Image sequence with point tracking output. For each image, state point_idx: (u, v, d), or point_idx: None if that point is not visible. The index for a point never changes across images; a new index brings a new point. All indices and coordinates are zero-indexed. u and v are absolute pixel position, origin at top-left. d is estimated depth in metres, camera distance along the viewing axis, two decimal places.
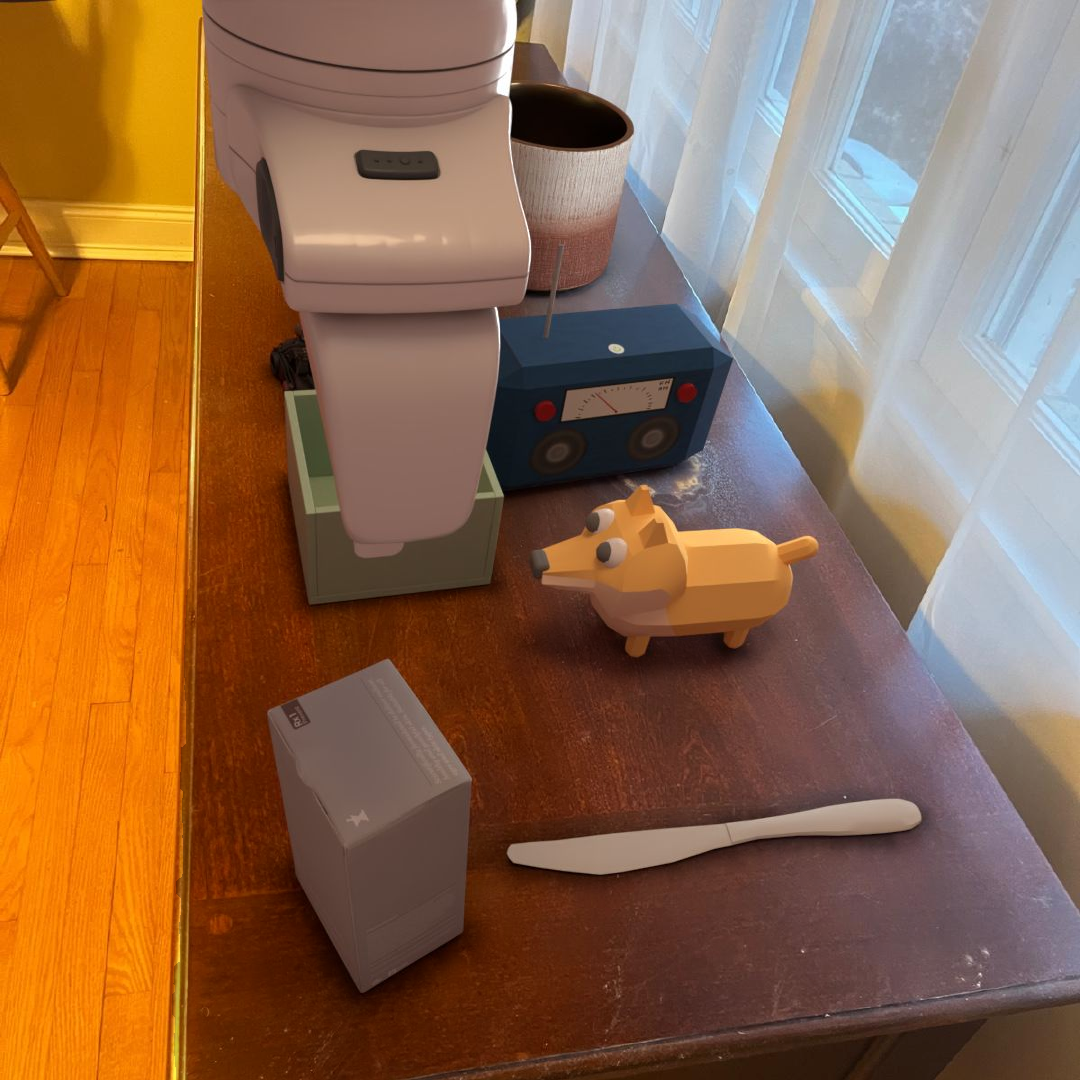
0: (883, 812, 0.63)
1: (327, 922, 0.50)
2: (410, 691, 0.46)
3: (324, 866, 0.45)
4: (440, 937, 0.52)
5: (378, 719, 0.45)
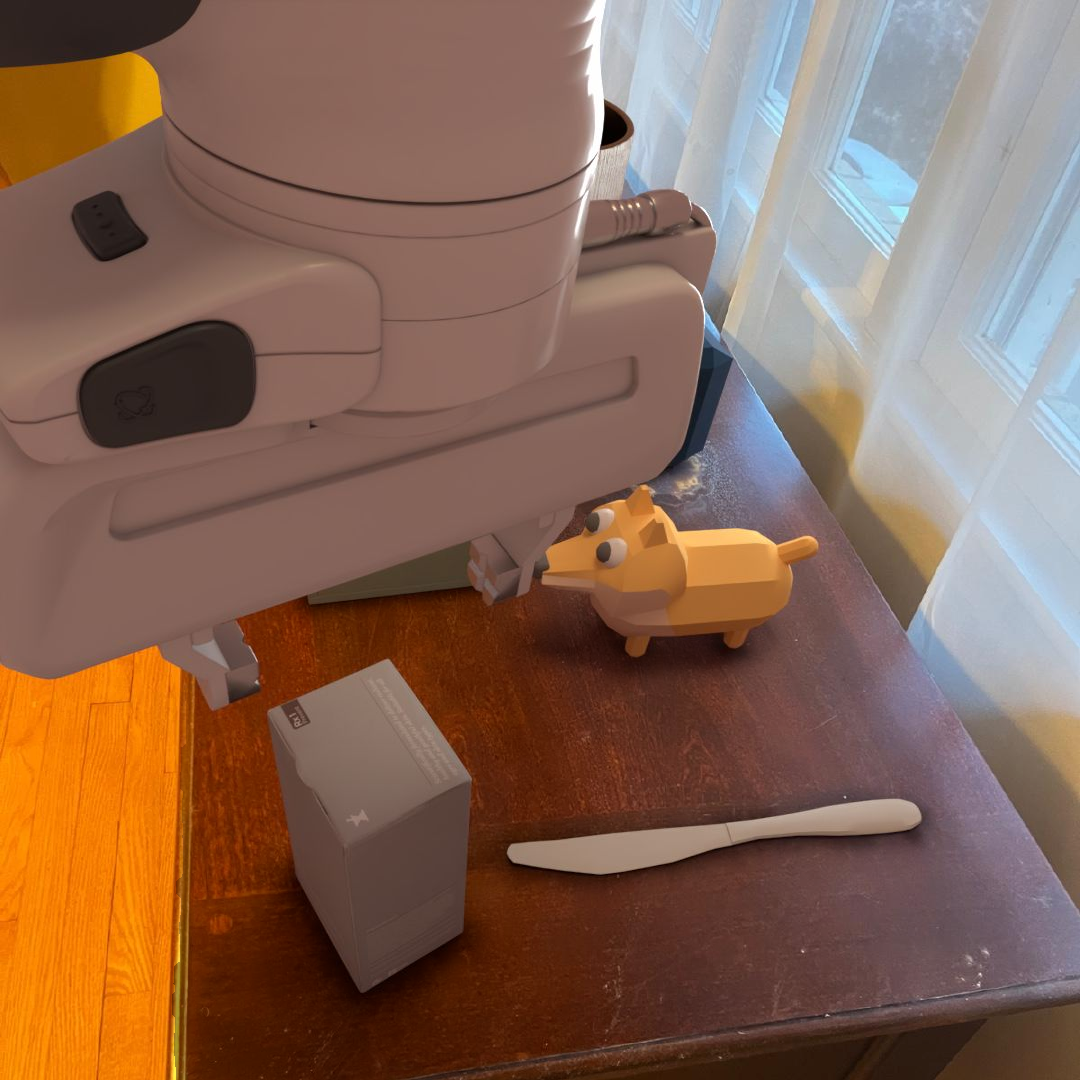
0: (883, 812, 0.63)
1: (327, 922, 0.50)
2: (410, 691, 0.46)
3: (324, 866, 0.45)
4: (440, 937, 0.52)
5: (378, 719, 0.45)
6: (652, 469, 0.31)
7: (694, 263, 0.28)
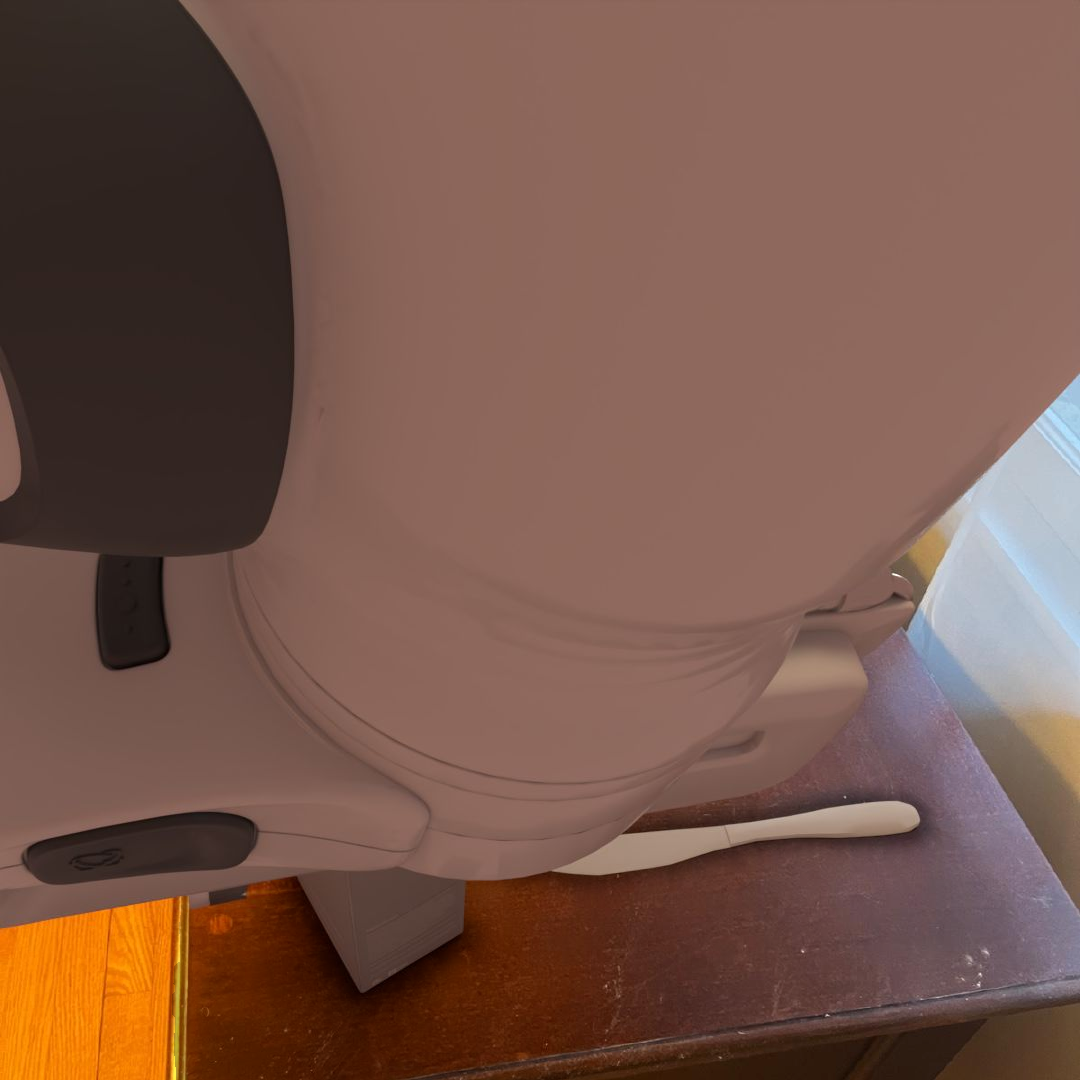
0: (881, 814, 0.63)
1: (327, 922, 0.50)
2: None
3: None
4: (440, 937, 0.52)
5: None
6: (747, 793, 0.26)
7: (875, 630, 0.22)
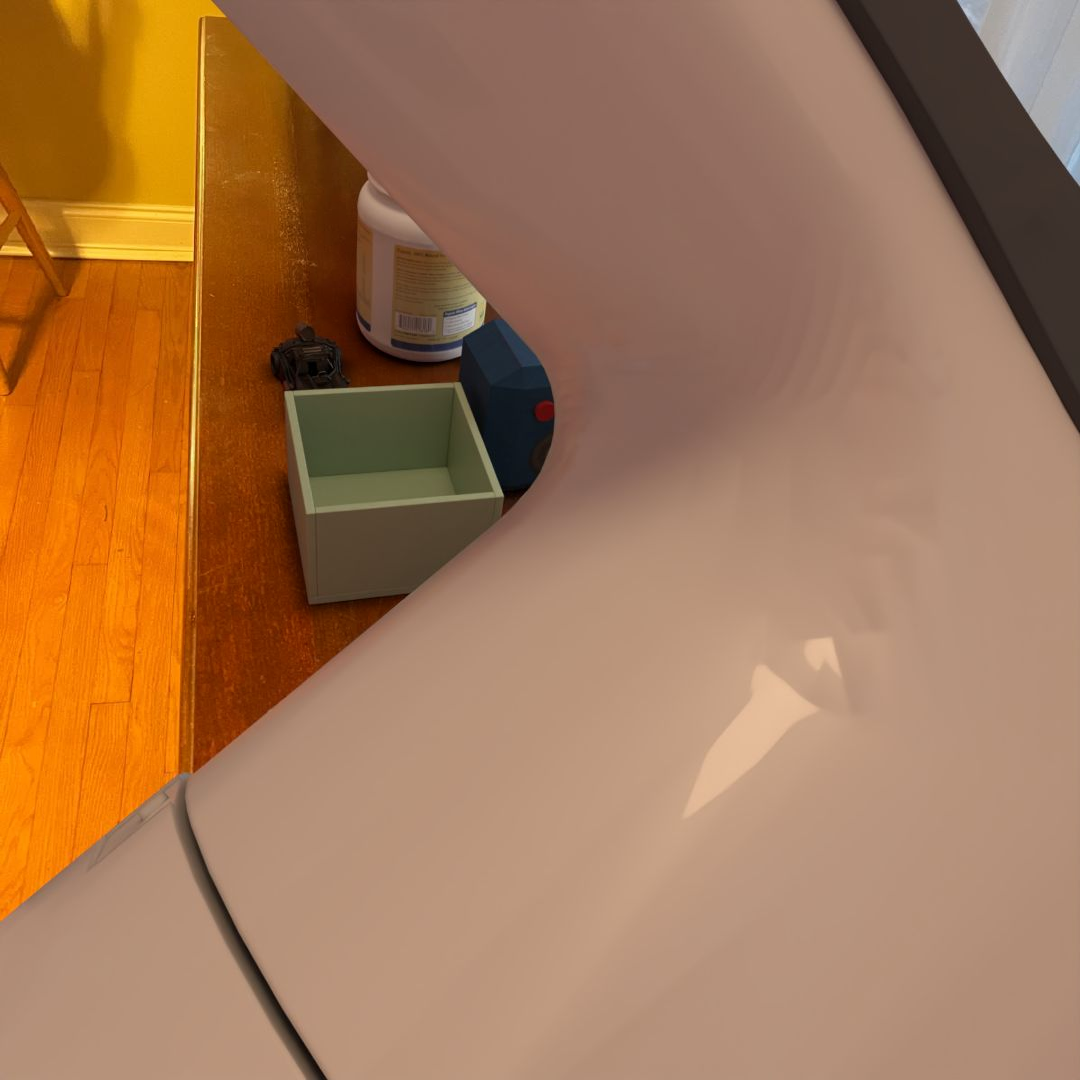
0: None
1: None
2: None
3: None
4: None
5: None
6: None
7: None
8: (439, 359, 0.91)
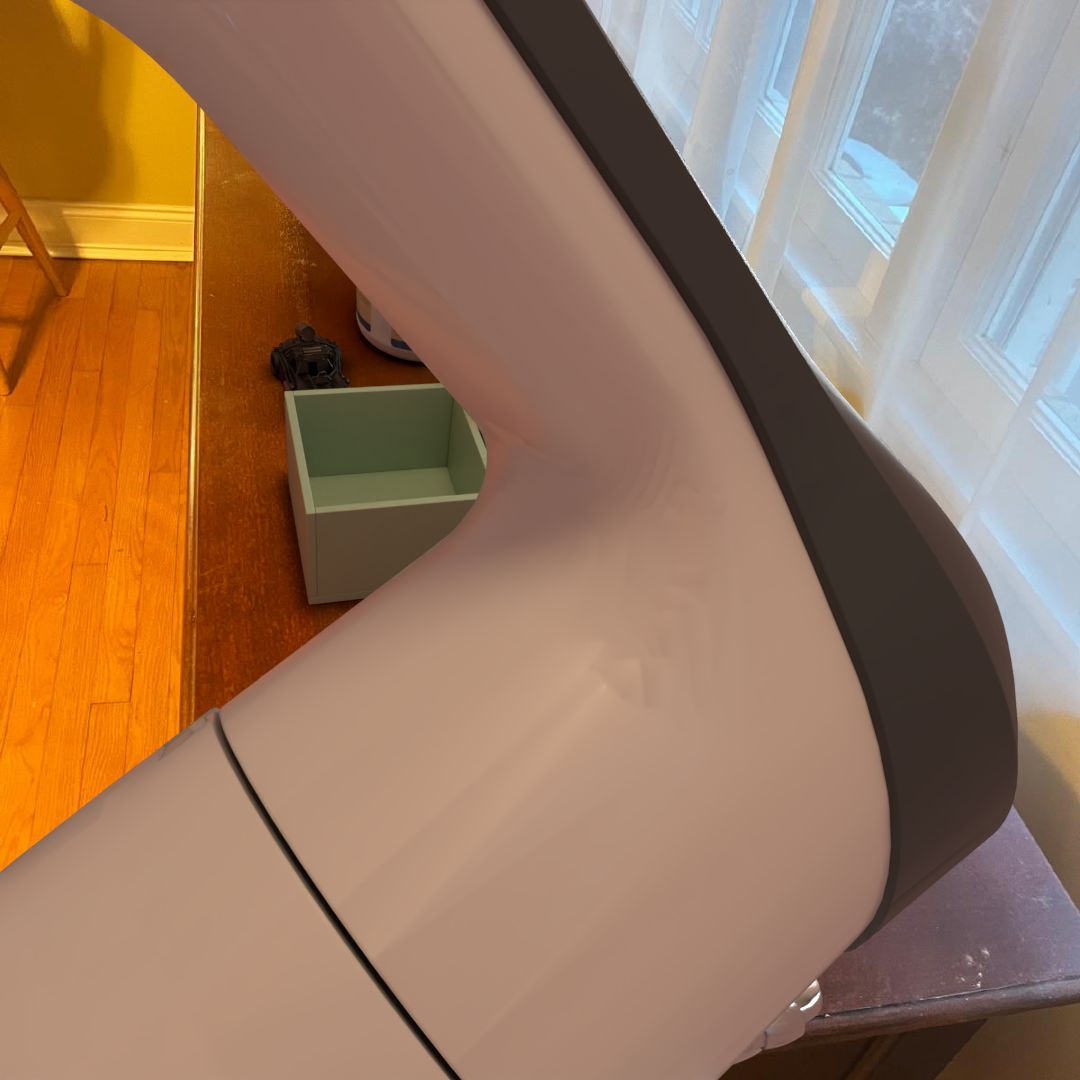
0: None
1: None
2: None
3: None
4: None
5: None
6: None
7: None
8: None
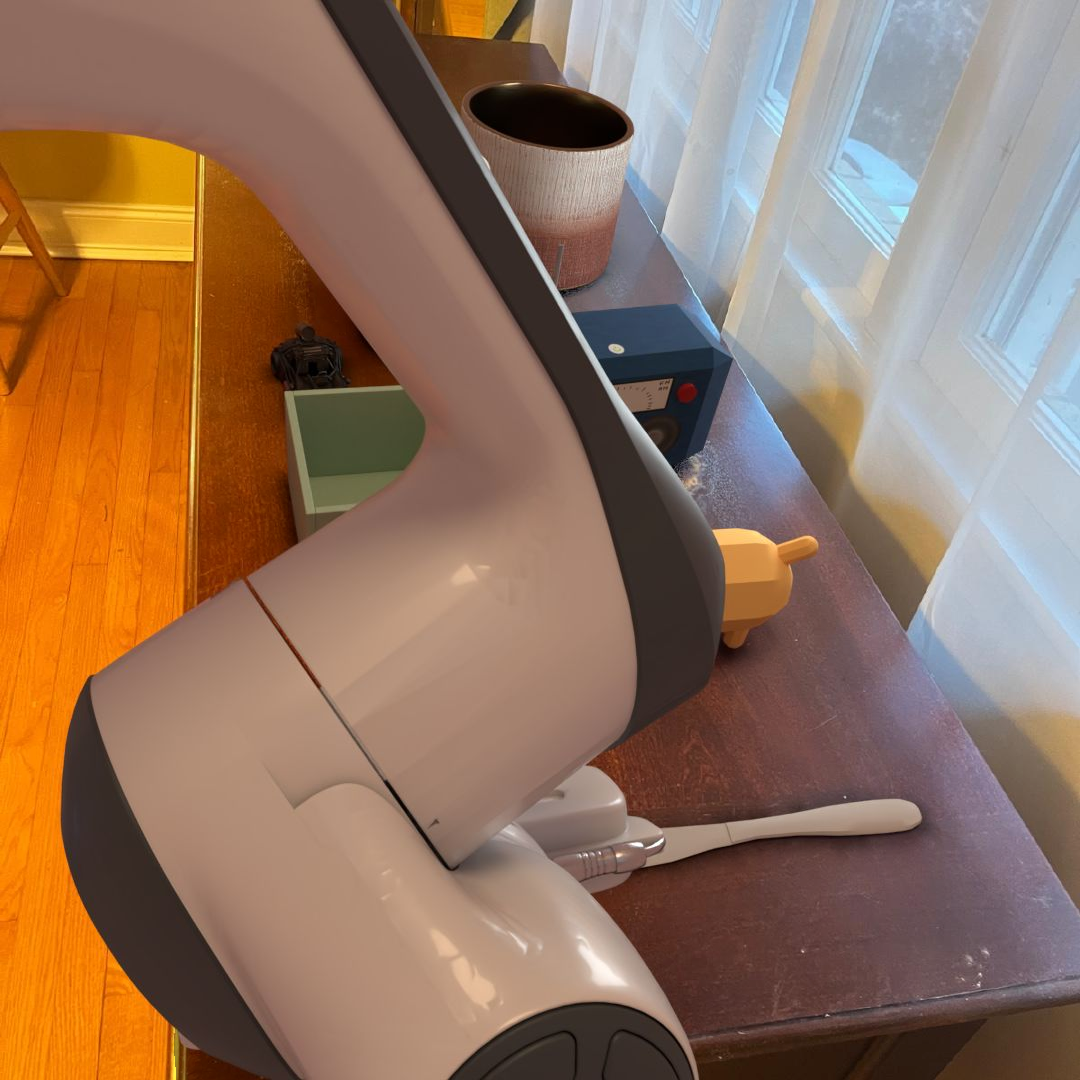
0: (883, 812, 0.63)
1: None
2: None
3: None
4: None
5: None
6: None
7: None
8: None
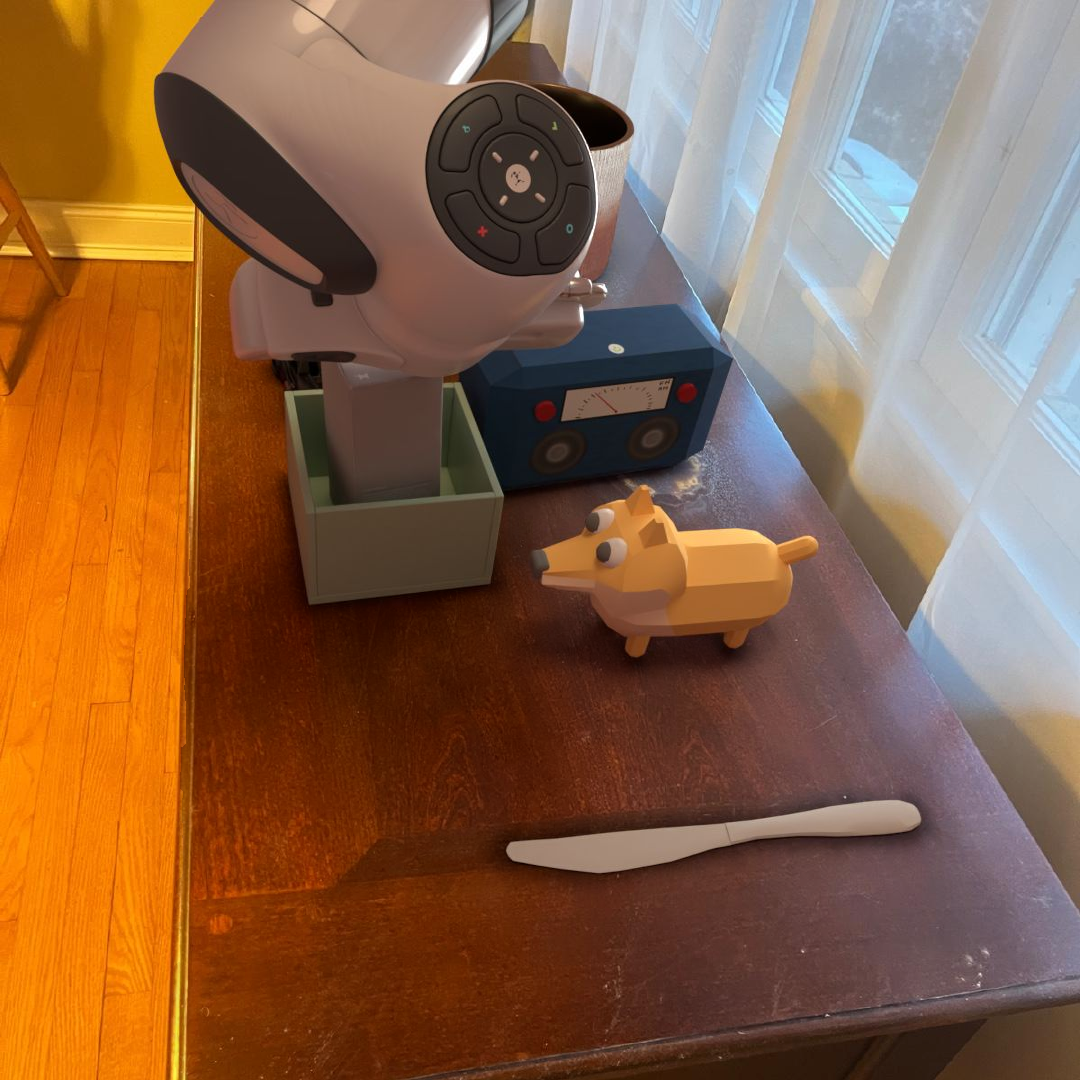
0: (882, 813, 0.63)
1: None
2: None
3: (341, 434, 0.66)
4: None
5: None
6: (545, 348, 0.62)
7: (591, 301, 0.56)
8: None
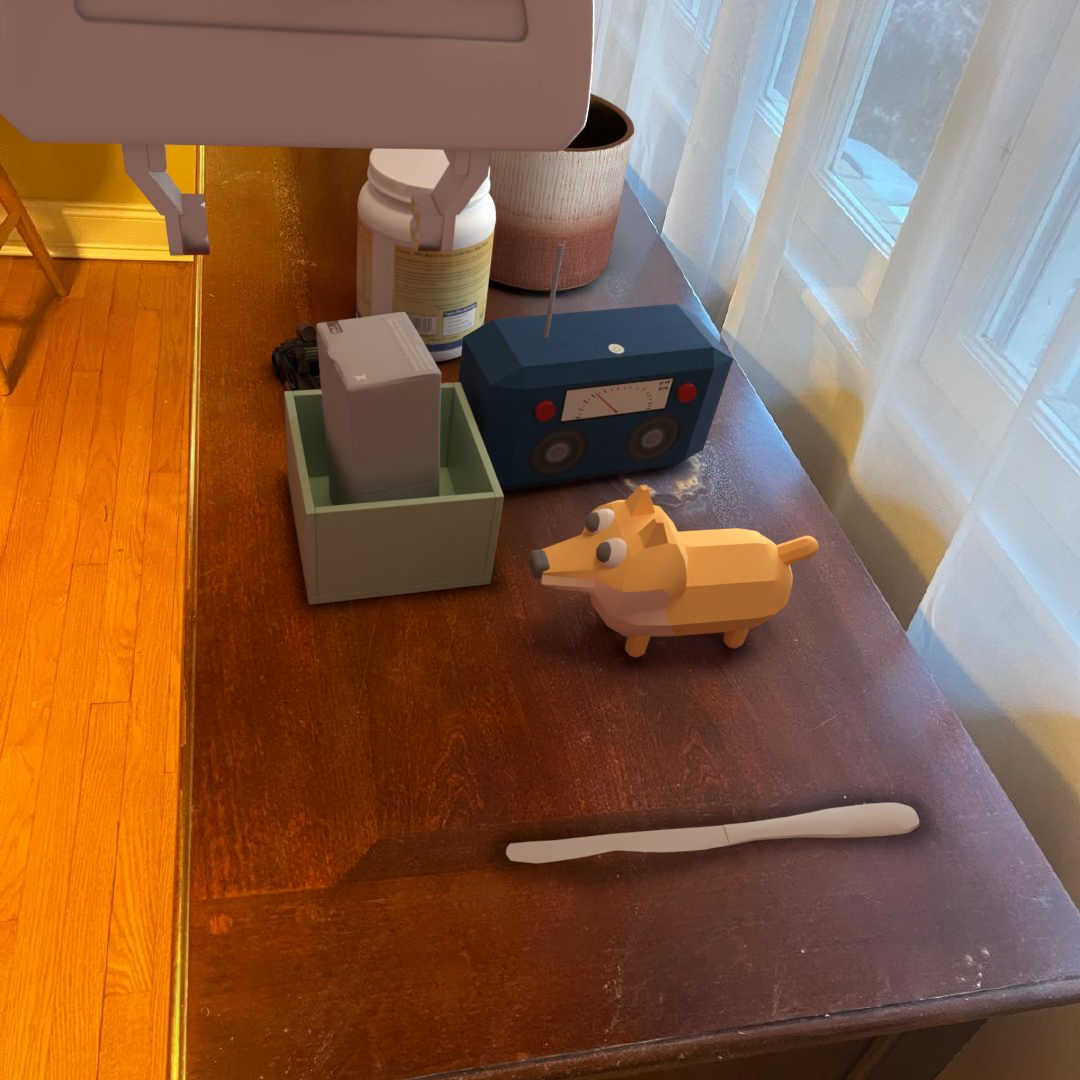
0: (881, 816, 0.63)
1: None
2: (414, 328, 0.66)
3: (339, 435, 0.66)
4: None
5: (387, 337, 0.65)
6: (553, 135, 0.37)
7: None
8: (439, 359, 0.91)
